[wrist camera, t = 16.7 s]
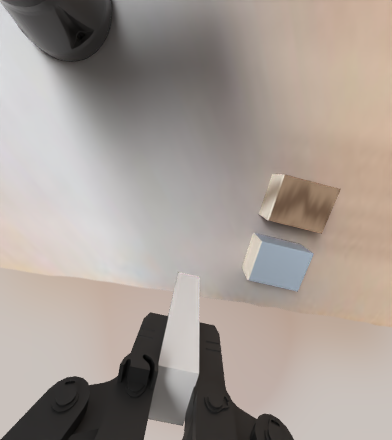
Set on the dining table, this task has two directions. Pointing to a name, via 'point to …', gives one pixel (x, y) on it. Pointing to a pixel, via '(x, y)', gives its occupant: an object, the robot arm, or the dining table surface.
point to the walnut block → (298, 202)
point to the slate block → (276, 262)
